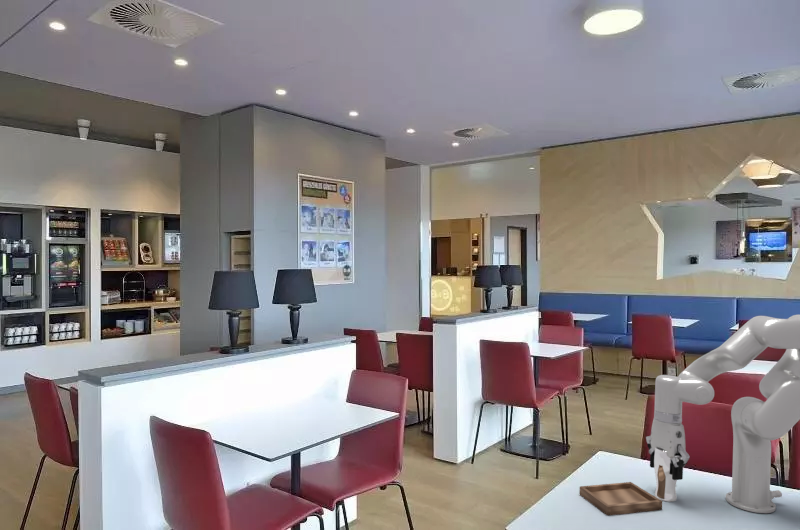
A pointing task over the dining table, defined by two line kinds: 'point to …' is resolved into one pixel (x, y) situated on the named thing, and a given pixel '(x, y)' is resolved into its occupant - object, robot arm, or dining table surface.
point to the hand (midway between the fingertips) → (665, 473)
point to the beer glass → (664, 477)
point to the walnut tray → (620, 498)
